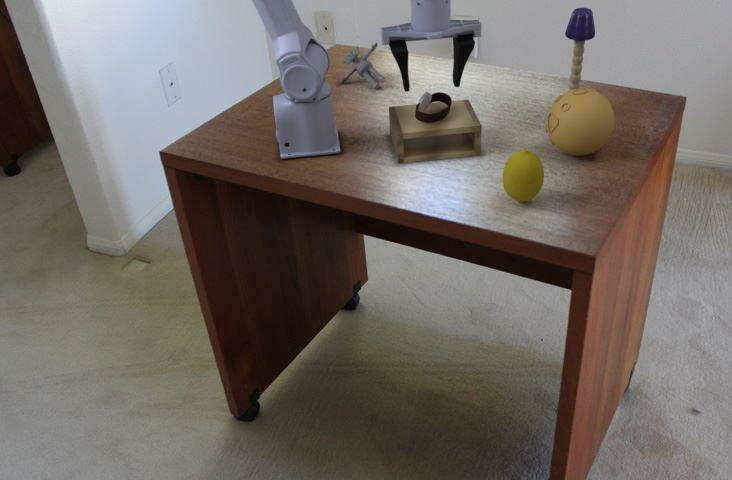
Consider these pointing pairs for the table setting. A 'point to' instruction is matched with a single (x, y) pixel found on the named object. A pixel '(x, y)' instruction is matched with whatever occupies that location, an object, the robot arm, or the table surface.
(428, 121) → the watch
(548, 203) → the table surface
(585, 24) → the toy lamp
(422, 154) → the shelf
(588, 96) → the stress ball
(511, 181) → the lemon
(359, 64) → the gray toy figurine
